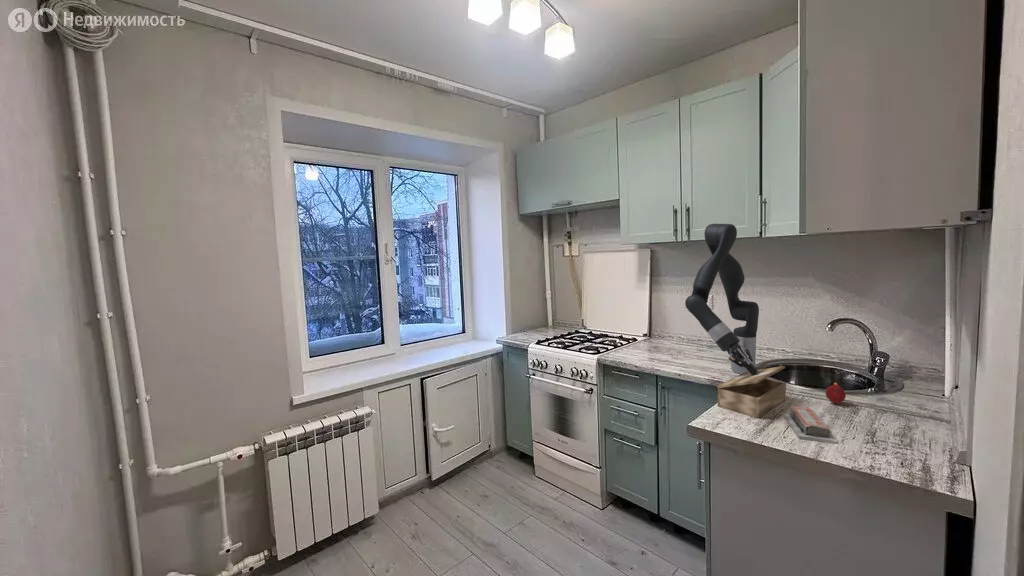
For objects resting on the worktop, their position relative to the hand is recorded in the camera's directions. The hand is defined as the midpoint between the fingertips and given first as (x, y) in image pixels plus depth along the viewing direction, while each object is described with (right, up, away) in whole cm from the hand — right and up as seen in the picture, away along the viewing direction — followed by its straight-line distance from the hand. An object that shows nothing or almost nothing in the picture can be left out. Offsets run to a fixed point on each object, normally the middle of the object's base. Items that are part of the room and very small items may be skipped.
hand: (755, 374), depth 150 cm
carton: (0, -12, +2) cm, 12 cm away
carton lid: (-1, -2, +1) cm, 2 cm away
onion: (+29, -11, 0) cm, 31 cm away
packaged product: (+6, -15, -19) cm, 24 cm away
